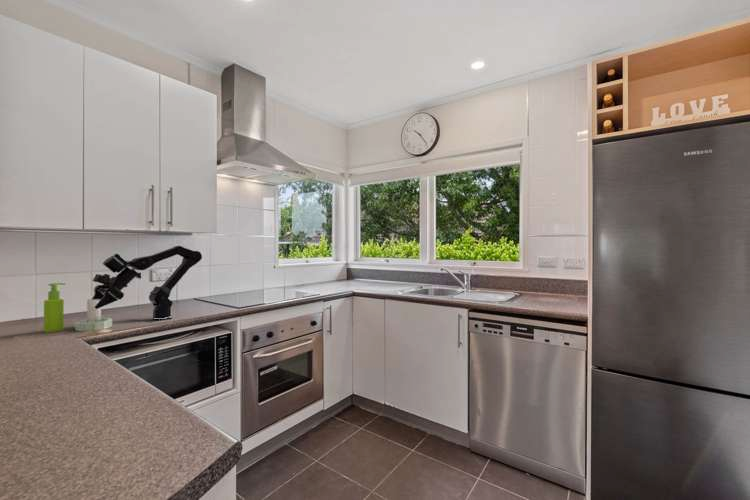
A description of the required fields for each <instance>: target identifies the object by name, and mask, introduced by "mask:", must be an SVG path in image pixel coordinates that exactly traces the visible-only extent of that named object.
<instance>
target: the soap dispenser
mask: <svg viewBox="0 0 750 500" xmlns="http://www.w3.org/2000/svg"><path fill="white" fill-rule="evenodd" d="M58 285H59V286H61V285H64V286H65V285H66V283H63V282H54V283H52V282H51V283H48V286H50V289H51V290H50V291H48V293H47V298H48V299H46V300H43V332H44V333H54V332H61V331H64V305H65V303H64V298H60V293H61V291H59V290H58Z"/></svg>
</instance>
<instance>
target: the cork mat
mask: <svg viewBox="0 0 750 500" xmlns="http://www.w3.org/2000/svg"><path fill="white" fill-rule="evenodd" d="M112 331H113V329H111V328H110V329H109V328H104V329H98V330H89V331H81V332H80V335H84V336H90V335H91V336H92V335H100V334H107V333H109V332H112Z"/></svg>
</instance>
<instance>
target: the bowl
mask: <svg viewBox="0 0 750 500" xmlns="http://www.w3.org/2000/svg"><path fill="white" fill-rule="evenodd" d="M112 325H113V318H110V317H101V322H92V323H87V319H82V320H78V321H75V322H74V329H75V331H78V332H79V331H80V332H86V331H91V330H98V329H109V328H111V327H112Z"/></svg>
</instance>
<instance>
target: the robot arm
mask: <svg viewBox="0 0 750 500" xmlns="http://www.w3.org/2000/svg"><path fill="white" fill-rule="evenodd" d="M175 256H179V257H181V258H182V261H181V263H180V264H179V266H178V267H177V268H176V269H175V270H174V271H173V273H172V274H171V275H170V276H169V277H168V278H167V279H166V281H165V282H164V283H163V284H162V285H160V286H158V285H157V286H155V287H154V288H153V289H152V290H151V291H150V292H149V296H148V300H149V302H150V303H152V306H153V307H154V308H153V309H152V319H153V318H165V317H169V316H171V315H172V313H171V310H172V309H171V307H172V306H173V304H174V303H173V300H171V299H169V298H170V296H171V292H172V289H174V288H175V286H176V285H177V284H178V283H179V281H181V279H182V278H183V277H184V276H185V274H186V273H187V272H188V271H189V269H191V268H192V267H194V266H195V265H197V264H198V263H199V262H201V260H202V258H203V257H202V256H203V255H202V253H201V252H200V251H198V250H192V249H189V248H186V247H184V246H181V245H175V246H173V247H171V248H168V249H166V250H165V249H164V250H163V251H159V252H156V253H154V254H151V255H147V256H140V257H136V258H133V259H131V260H125V259H124V258H122V256H121V255H120V254H118V253H114V254H113V255H112V256H109V257H108V258H106V259H105V260H104V261H103V263H102V265H103V266H104V267H106V268H107V269H108V270H109V271H111V272H112V273H118V274H116V276H111V275H110V274H108V273H105V274H103V275H102V274H97V273H96V274H95V276H94V278H92V282H95V283H98V284H96V286H95V287H94V288H93V291H94V295H93V297H92V298H91V299H101V300H100V301H99V302H98V303H97V305H96V306H95V308H96V309H98V308H100V307H101V308H102V307H105V306H107V305H110V304H112V303H115V302H117V301H119V300H120V301H121V300H122V298H124V296H125V293H124V292H122V290H123V289H124V288H127V287H128V284H129V283H131V282H132V281H133V280H134V279H135V278H136V279H140V280H141V279H142V272H138V271H146V270H147V269H149V268H151V267H152V266H153V265H154V264H156V263H158V262H160V261H161V262H162V261H163V260H167V259H168V258H172V257H175ZM129 267H130V268H129ZM171 317H172V316H171Z"/></svg>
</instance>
